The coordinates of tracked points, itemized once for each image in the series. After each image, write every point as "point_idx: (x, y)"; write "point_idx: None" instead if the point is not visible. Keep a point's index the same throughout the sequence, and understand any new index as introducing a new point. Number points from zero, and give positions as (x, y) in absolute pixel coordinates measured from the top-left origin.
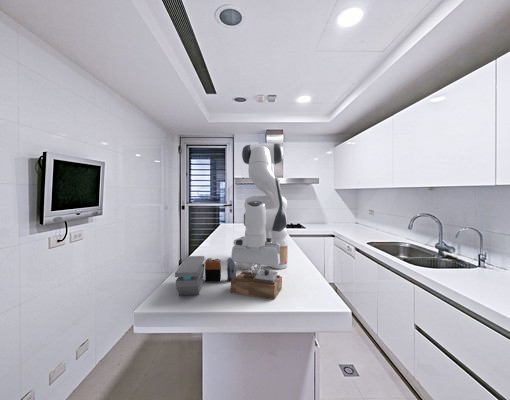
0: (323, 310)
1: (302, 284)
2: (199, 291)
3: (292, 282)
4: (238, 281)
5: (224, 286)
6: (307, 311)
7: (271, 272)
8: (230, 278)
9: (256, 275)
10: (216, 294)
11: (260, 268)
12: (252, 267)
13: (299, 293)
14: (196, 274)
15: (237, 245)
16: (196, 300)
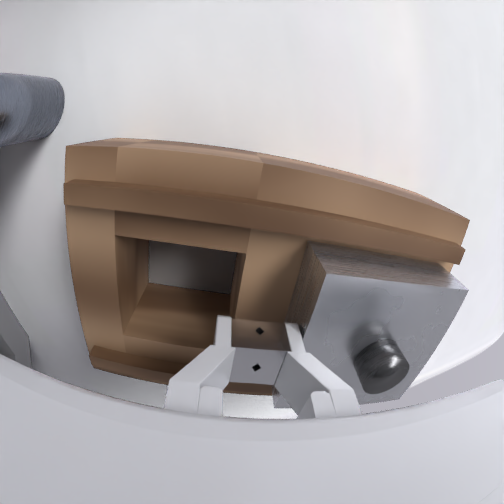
0: (468, 356)
1: (500, 126)
2: (21, 340)
3: (467, 87)
4: (145, 379)
5: (44, 230)
6: (432, 376)
7: (420, 322)
8: (27, 140)
9: (278, 405)
10: (73, 334)
11: (324, 368)
12: (215, 384)
13: (471, 251)
14: None
15: None
16: (57, 376)
